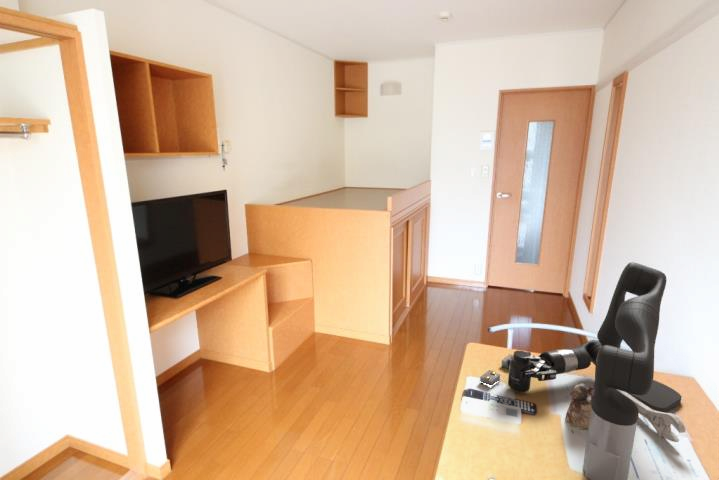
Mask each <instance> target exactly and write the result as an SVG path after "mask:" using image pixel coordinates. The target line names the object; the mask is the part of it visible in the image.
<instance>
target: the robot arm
mask: <svg viewBox="0 0 719 480" xmlns="http://www.w3.org/2000/svg"><path fill="white" fill-rule="evenodd" d="M666 284H667V276H666V274H665V273H664V272H662V271H661V270H658V269H656V268H653V267H649V266H648V265H644V264H641V263H637V262H634V261H632V262H628V264H627V265H626V266H625V267H624V268H623V270H622V271H621V274H620V276H619V279H618V281H617V284H616V286H615V289H614V291H613V295H612V297H611V300H610V303H609V306H608V310H607V312H606V315H605V318H604V320H603V322H602V324H601V325H600V327H599V330H598V331H597V334H596V337H597V339H590V340H588V341H587V342H585V343H584V344H583V343H582V344H581V345H579V346H577V347H573V348H565V349H563V348H562V349H554V350H547V351H543V352H541V353H540V355H532V354H531V353H532V352H531V351H530V350H528V351H526V352H527V353H528V354H529V355H530V358H529V359H530V360H529V362H530V363H531V364H532V370H526V371H521V378H531V379H532V378H533V379H537V381H539V382H544V381H552V380H553V381H554V380H556V379H557V375H562V374H567V373H571V372H574V371H581V370H586V369H588V368H589V367H590V366H591V364H593V365H594V367H595V369H594V383H593V384H594V385H593V387H594V390H593V391H592V393H593V399H592V398H591V399H592V405H591V412H590V419H589V426H588V429H587V432H586V433H587V435H586V442H585V443H586V444H585V450H584V457H583V465H582V467H583V470H584V477H585V478H587V479H588V480H628V478H629V473H630V467H631V462H632V461H631V460H632V454H633V447H634V443H635V435H636V432H637V431H636V430H637V424H638V419H639V415H640V414H639V411H638V408H637V406H636V404H635V403H634V402H633V401H632V400H631V399H629V398H628V397H626V396H625V395H623V394H622V393H620V392H619V391H618V390H621V391H624V392H628V393H631V394H634V395H641V396H642V395H646V394H647V393H648V392H649V390H650V389H651V386H652V383H653V380H654V377H655V370H654V369H655V347H656V341H657V340H656V339H657V337H658V332H659V331H658V330H659V327H660V325H659V324H660V315H661V314H660V313H661V312H660V311H661V304H662V299H663V297H664V292H665V289H666ZM627 293H629V294H632V295H635V296H634V297H631V298H628V299H626V295H627ZM622 342H624V343H625V345H627V346H628V347H629V348H630V350H629V349H624V348H621V344H622ZM510 361H511V359H508V360H507V365H508V366H509V364H510ZM616 389H617V390H616Z"/></svg>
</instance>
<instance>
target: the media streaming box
mask: <svg viewBox="0 0 719 480" xmlns="http://www.w3.org/2000/svg"><path fill="white" fill-rule="evenodd" d="M626 393H628V392H626ZM628 394H629V395H631V396H633V397H634V398H636V399H637V400H639V401H640V402H642V403H643V404H645V405H646V406H648V407H649V408H651V409H652V410H656V411H659V412H664V413H670V412H671V411H672V410H674V409H676V408H677V407H678V406H679V405H680V404H681V402H682V396H681V393H679V392H678V391H676V390H675V389H673V388H672V387H670V386H668V385H666V384H664V383H662V382H659V381H658V380H655V379H653V383H652V386H651V389H650V390H649V392H648V393H647V394H646V395H642V396H641V395H634V394H631V393H628Z"/></svg>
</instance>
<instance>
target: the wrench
mask: <svg viewBox="0 0 719 480" xmlns="http://www.w3.org/2000/svg"><path fill="white" fill-rule="evenodd" d="M616 390H617V389H616ZM618 391H619V392H620V393H622V394H623V395H625V396H626V397H628V398H629V399H631V400H632V401H633V402H634V403H635V404H636V406H637V408H638V411H639V414H638V415H641V416H643V417H644V418H645V419H646V420H647V421H648V422H649V423H650V425H651V426H652V427H653V428H654V430H655V431H656V434H657V436H658V437H659V438H662V437H663V438H665V439H666V440H668V441H671V442H674V443H678V442H679V441H680V439H679V438H678V436H677V435H676V434H675V433H674V431H672V428H671V426H673V427H674V428H675V429H676V431H677V432H678V433H679V434H680V433H686V432H687V429H686V427H685V425H684V422H683V421H682V420H681V418H680V417H678V416H677V415H676V414H674V413H671V412H667V413H664V412H659V411H656V410H652V409H651V408H649V407H648V406H646V405H645V404H643V403H642V402H640V401H639V400H637V399H636V398H634V397H633V396H631V395H629V394H628V393H626V392H624V391H621V390H618Z"/></svg>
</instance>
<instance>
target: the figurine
mask: <svg viewBox="0 0 719 480" xmlns="http://www.w3.org/2000/svg"><path fill="white" fill-rule="evenodd" d="M593 392H594V385H592V386H589V387H587V386H586V384H585V383H578V384H576V385H575V386H574V388H573V390H572V391H571V392H570V393H569V395H570V403H569V404H568V408H567V411H566V413H565V418H564V419H565V420H566V422H567V423H568V424H569V425H570V426H572V427H574V428H576V429H580V430H588V426H589V419H590V412H591V405H592V399H593ZM589 397H591V399H590V398H589Z"/></svg>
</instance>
